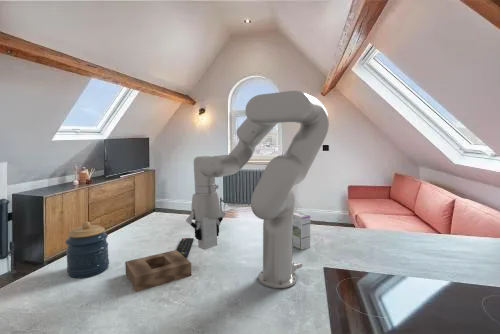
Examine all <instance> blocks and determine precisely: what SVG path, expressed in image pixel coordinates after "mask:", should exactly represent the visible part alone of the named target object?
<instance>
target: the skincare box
mask: <svg viewBox="0 0 500 334" xmlns="http://www.w3.org/2000/svg"><path fill="white" fill-rule="evenodd" d="M199 229H201V240H198V239H197V244H198V245H197V246H198V248H199V249H202V250H204V251H205V250H208V249H211V248H214V247H218V236H217V227H216V219H211V220H209V219H208V218H207V217H203V218H202V222H201V225H200V228H199Z"/></svg>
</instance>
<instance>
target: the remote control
mask: <svg viewBox="0 0 500 334" xmlns="http://www.w3.org/2000/svg"><path fill="white" fill-rule="evenodd" d="M194 240H195V239H194V238H193V237H184V238H181V240H180V242H179V244H178V247H177V248H176V250H177V251H178V252H179V253H180V254H182V255H183V256H184V257H185V258H186V259H187V260H188V257H189V255H190V251H191V248H192V245H193V243H194Z"/></svg>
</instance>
